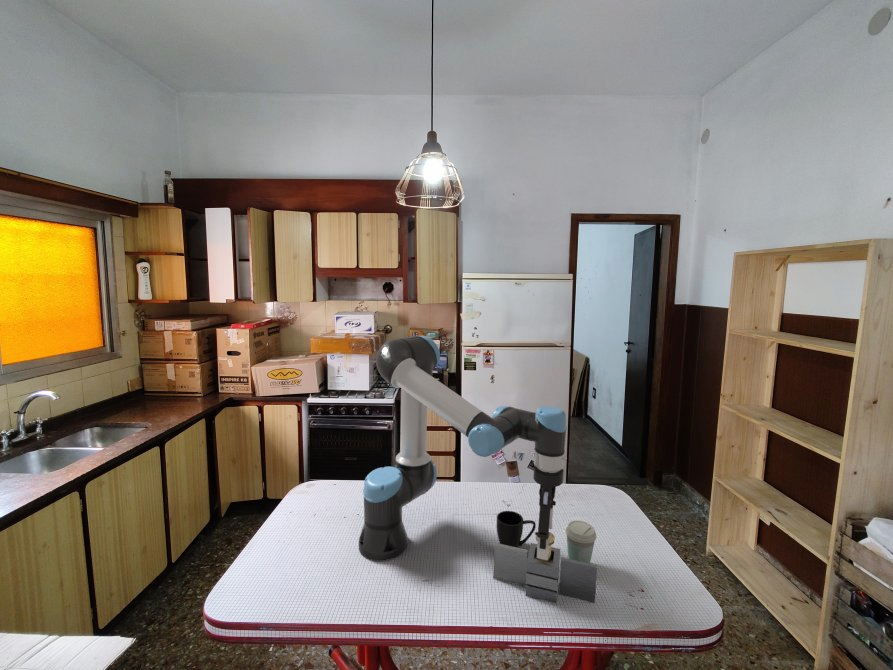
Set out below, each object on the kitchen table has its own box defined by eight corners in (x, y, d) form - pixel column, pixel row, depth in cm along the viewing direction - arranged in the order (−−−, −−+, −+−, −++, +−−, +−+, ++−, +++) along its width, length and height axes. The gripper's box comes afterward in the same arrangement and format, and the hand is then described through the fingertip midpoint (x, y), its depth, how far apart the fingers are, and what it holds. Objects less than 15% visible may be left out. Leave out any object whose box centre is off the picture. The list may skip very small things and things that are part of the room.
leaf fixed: (525, 595, 108) (527, 561, 107) (529, 575, 116) (530, 542, 114) (595, 613, 103) (597, 577, 102) (594, 590, 110) (596, 556, 109)
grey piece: (490, 586, 111) (491, 553, 110) (496, 567, 119) (497, 535, 117) (556, 603, 106) (558, 568, 104) (558, 582, 113) (560, 549, 112)
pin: (531, 592, 109) (535, 538, 108) (533, 580, 114) (537, 528, 112) (549, 596, 108) (554, 542, 106) (550, 584, 112) (555, 532, 111)
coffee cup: (574, 578, 115) (576, 538, 113) (558, 558, 123) (560, 521, 122) (600, 573, 117) (603, 534, 116) (582, 553, 125) (585, 517, 124)
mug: (535, 557, 123) (536, 528, 122) (495, 553, 125) (496, 524, 124) (533, 540, 131) (534, 512, 130) (496, 536, 133) (497, 509, 132)
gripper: (561, 492, 93) (556, 577, 96) (565, 450, 117) (561, 519, 120) (528, 486, 96) (524, 569, 98) (538, 446, 119) (535, 514, 122)
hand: (544, 542), depth 109 cm, fingers open, 13 cm apart
